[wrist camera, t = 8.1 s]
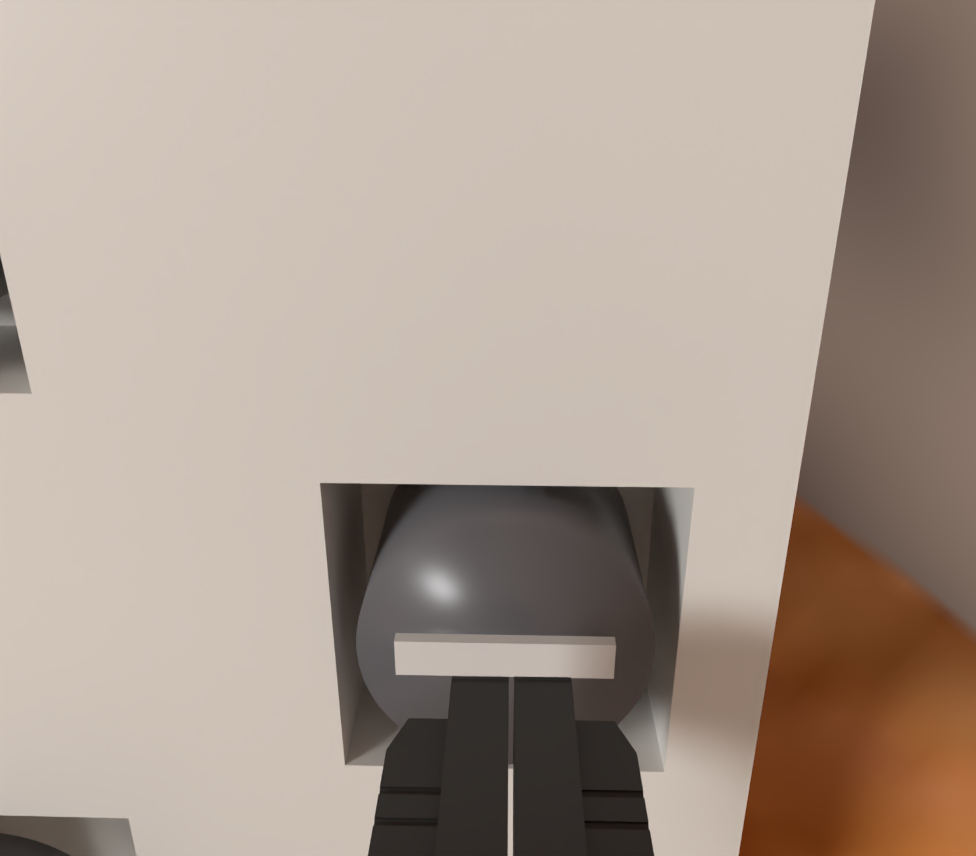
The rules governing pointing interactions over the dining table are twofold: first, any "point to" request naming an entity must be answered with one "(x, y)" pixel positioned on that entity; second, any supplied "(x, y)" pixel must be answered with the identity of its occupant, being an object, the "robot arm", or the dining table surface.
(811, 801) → the dining table surface
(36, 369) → the knob mount
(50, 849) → the knob
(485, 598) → the knob
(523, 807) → the robot arm
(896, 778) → the dining table surface
